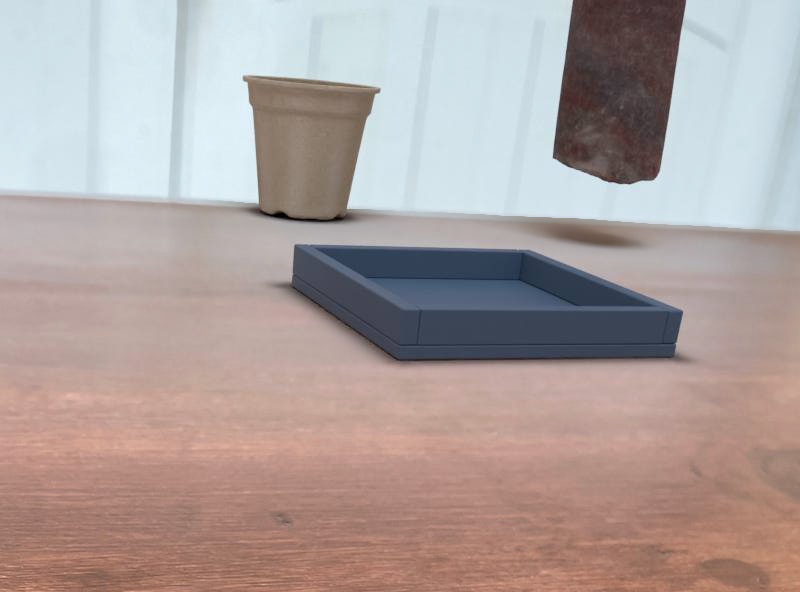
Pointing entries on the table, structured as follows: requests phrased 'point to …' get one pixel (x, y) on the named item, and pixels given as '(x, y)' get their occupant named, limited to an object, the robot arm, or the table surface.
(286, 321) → the table surface
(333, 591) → the table surface
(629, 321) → the candle dish
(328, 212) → the flower pot
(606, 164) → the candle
